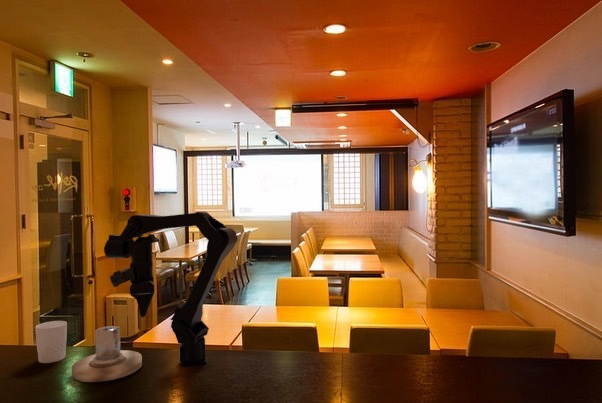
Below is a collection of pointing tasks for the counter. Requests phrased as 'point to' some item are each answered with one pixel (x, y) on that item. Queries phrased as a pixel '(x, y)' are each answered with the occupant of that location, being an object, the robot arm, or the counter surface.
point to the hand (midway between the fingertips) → (143, 313)
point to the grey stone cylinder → (107, 346)
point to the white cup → (51, 341)
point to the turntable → (106, 368)
